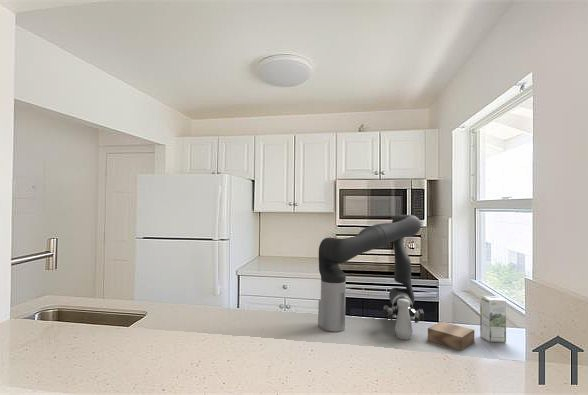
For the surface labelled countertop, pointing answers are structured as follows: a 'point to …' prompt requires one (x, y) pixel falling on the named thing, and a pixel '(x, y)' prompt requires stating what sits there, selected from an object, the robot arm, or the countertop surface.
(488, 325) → the syrup box
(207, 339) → the countertop surface
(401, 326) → the salt shaker
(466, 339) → the wooden block
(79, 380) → the countertop surface
